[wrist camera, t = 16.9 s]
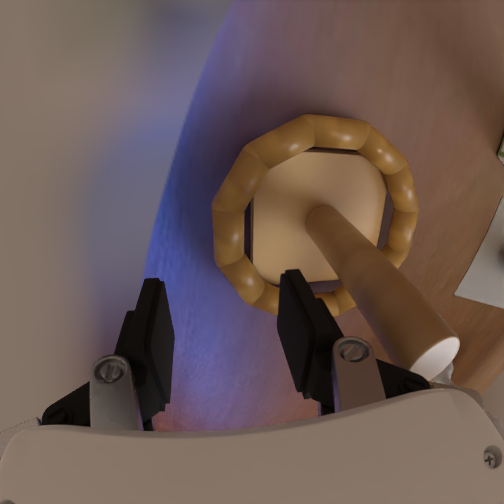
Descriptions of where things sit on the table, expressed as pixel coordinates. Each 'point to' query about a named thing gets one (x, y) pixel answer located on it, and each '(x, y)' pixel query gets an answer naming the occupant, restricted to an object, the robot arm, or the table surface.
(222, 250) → the ring
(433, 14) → the table surface
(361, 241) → the post
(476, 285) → the platform
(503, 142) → the syrup box
